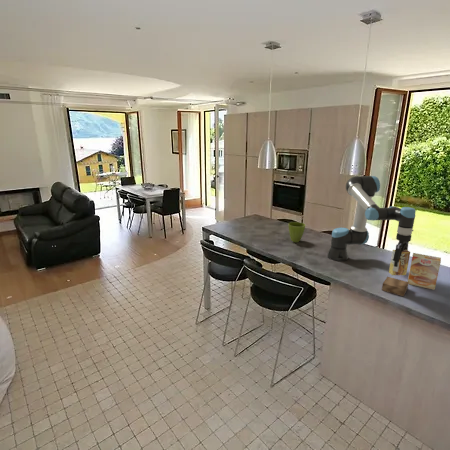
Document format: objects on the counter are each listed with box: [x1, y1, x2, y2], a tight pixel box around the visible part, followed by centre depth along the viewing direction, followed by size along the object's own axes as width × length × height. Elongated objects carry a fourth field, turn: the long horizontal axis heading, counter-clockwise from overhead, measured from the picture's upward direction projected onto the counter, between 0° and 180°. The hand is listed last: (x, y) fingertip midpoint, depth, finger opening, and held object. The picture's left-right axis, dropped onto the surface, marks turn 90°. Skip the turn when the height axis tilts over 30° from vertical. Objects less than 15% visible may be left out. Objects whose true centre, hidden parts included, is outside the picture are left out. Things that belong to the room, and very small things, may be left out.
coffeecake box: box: [407, 252, 442, 291], centre depth 192 cm, size 15×7×20 cm, turn 56°
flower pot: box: [287, 221, 306, 243], centre depth 273 cm, size 15×15×16 cm
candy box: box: [388, 249, 411, 276], centre depth 183 cm, size 9×4×15 cm, turn 93°
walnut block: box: [381, 276, 410, 297], centre depth 188 cm, size 12×12×5 cm
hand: (398, 268), depth 185 cm, fingers closed on candy box, 9 cm apart
